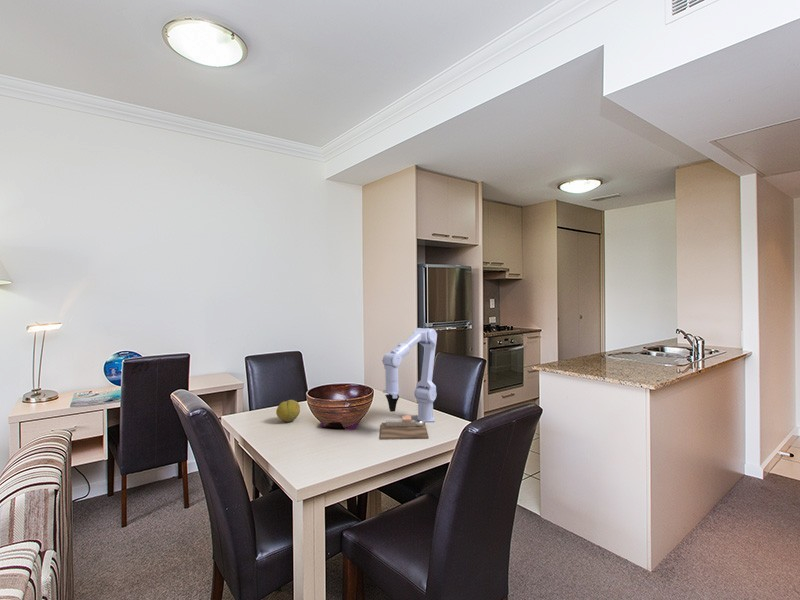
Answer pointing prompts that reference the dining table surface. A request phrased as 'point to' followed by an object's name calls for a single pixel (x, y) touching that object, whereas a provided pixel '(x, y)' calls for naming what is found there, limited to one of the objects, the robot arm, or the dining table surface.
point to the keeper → (408, 418)
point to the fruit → (288, 410)
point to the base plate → (404, 432)
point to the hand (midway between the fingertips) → (392, 411)
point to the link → (403, 423)
